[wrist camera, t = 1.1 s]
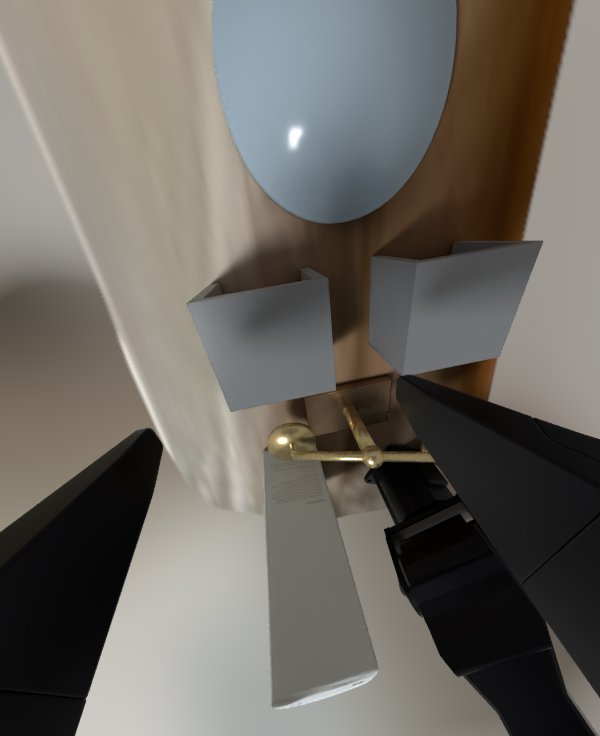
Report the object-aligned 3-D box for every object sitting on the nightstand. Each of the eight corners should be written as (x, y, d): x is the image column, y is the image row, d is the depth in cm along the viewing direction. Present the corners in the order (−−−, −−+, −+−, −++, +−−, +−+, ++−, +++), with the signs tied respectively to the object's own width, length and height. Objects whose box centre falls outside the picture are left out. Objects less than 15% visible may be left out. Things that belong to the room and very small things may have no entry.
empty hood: (442, 329, 19) (499, 356, 14) (368, 343, 18) (402, 376, 14) (461, 240, 15) (543, 240, 11) (370, 256, 15) (416, 263, 10)
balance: (425, 367, 20) (505, 429, 14) (418, 407, 23) (482, 476, 16) (261, 401, 20) (260, 485, 13) (272, 438, 22) (277, 525, 15)
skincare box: (261, 448, 23) (260, 712, 10) (318, 440, 23) (384, 678, 11) (270, 494, 27) (276, 719, 14) (317, 486, 28) (364, 695, 15)
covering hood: (317, 353, 18) (336, 390, 14) (238, 369, 18) (230, 412, 13) (308, 267, 15) (328, 278, 10) (210, 284, 14) (186, 303, 10)
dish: (371, 252, 15) (377, 253, 14) (198, 170, 11) (193, 164, 11) (487, 1, 10) (508, -21, 9) (252, -259, 7) (251, -331, 6)
